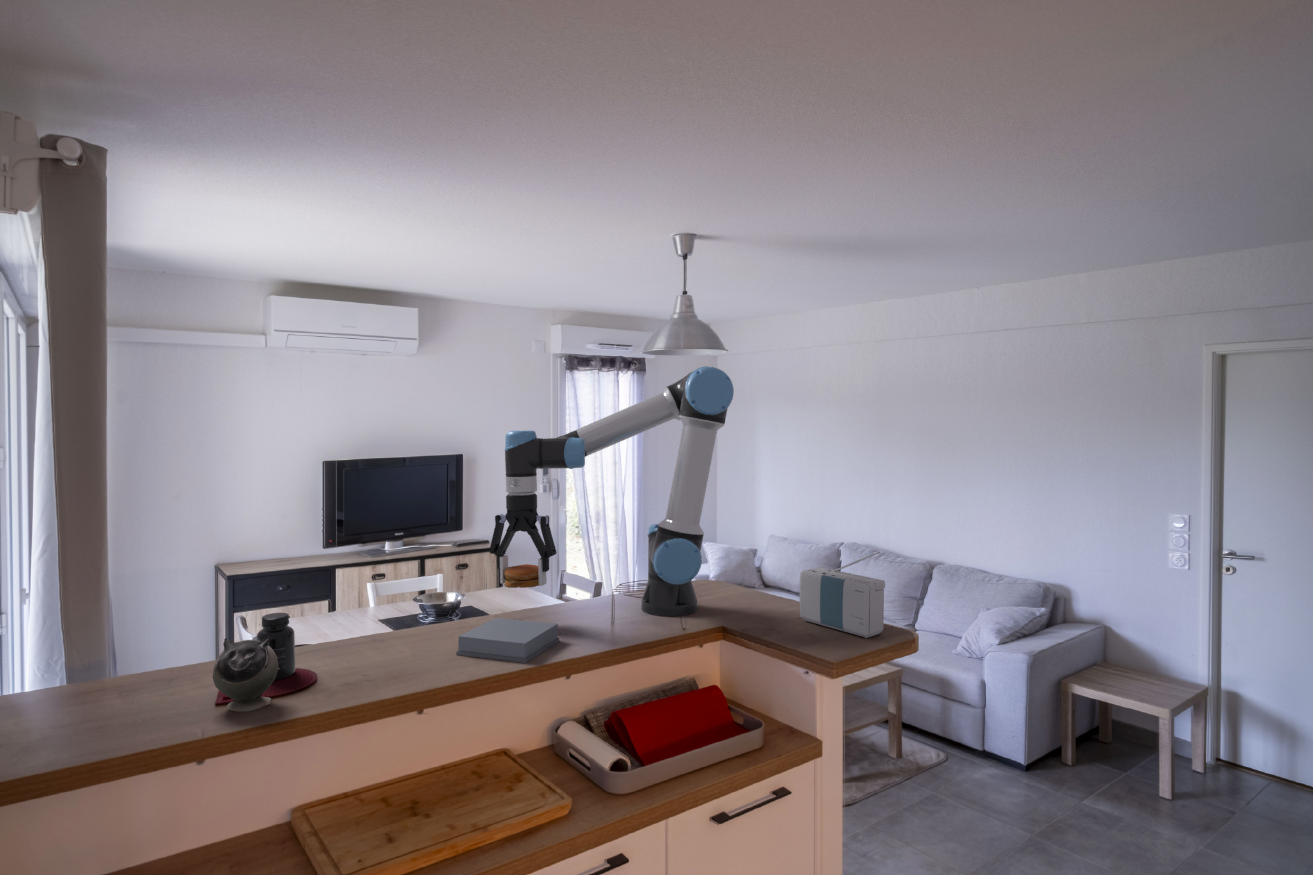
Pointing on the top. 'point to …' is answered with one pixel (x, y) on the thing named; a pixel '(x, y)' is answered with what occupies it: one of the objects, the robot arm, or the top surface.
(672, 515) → the robot arm
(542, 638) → the stacking base
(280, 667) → the supplement bottle
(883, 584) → the stereo radio cassette player
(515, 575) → the burger
